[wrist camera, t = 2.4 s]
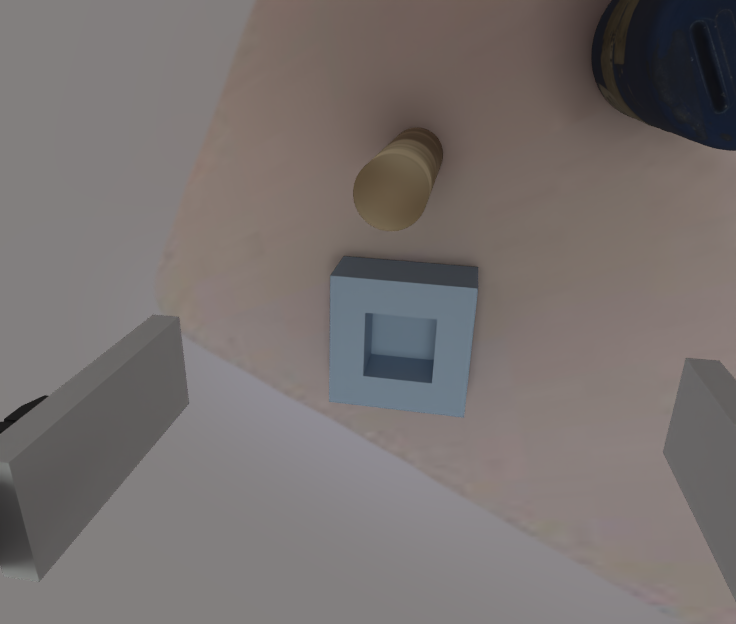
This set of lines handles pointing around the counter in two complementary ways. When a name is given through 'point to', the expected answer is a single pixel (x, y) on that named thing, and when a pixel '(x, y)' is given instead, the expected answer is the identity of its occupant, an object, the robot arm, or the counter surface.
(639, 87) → the canister
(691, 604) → the counter surface
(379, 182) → the dowel
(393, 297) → the socket block
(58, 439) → the robot arm
